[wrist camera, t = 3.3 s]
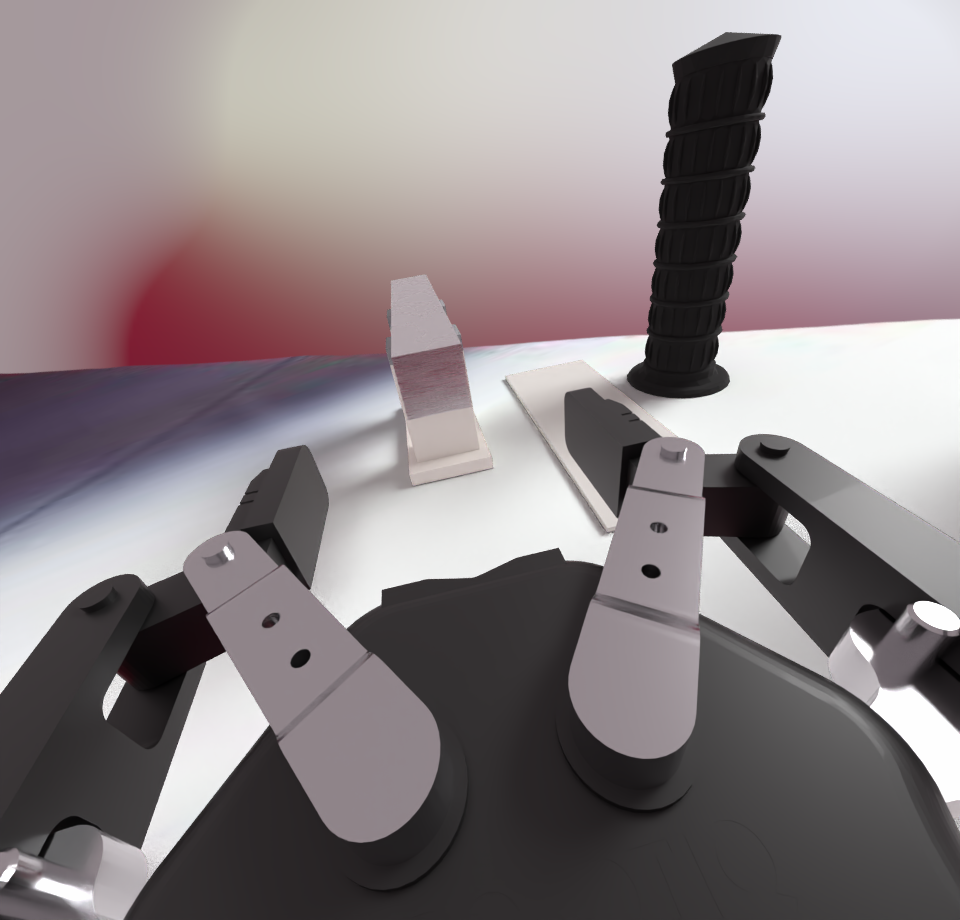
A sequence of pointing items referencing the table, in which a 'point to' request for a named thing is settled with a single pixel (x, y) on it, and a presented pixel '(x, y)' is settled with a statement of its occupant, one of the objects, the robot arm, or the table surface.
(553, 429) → the mat
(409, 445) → the rack
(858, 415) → the table surface
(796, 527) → the table surface
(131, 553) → the table surface
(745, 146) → the handle grip
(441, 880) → the robot arm
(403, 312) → the rail
